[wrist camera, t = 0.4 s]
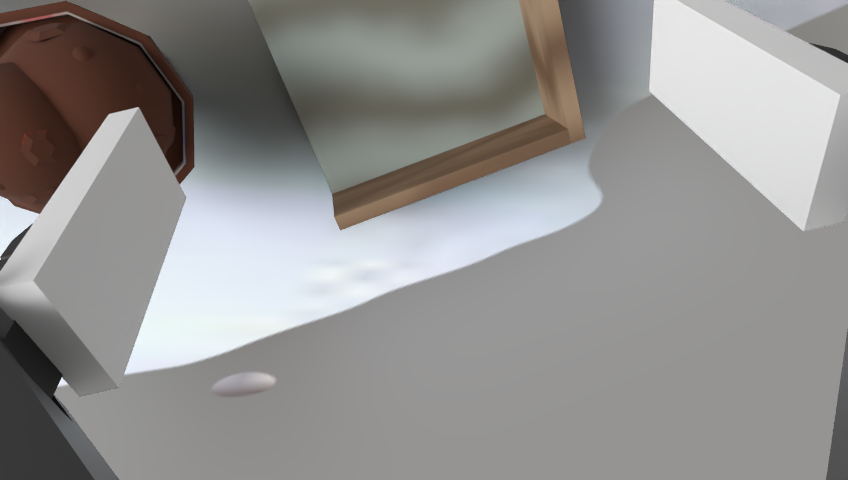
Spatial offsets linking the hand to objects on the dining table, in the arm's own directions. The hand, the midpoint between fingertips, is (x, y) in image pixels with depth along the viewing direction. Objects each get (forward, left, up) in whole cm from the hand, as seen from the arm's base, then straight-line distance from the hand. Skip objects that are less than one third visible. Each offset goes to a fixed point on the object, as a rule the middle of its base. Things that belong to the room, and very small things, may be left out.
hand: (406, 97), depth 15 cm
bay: (-1, +3, -25) cm, 25 cm away
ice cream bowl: (-1, -14, -25) cm, 29 cm away
